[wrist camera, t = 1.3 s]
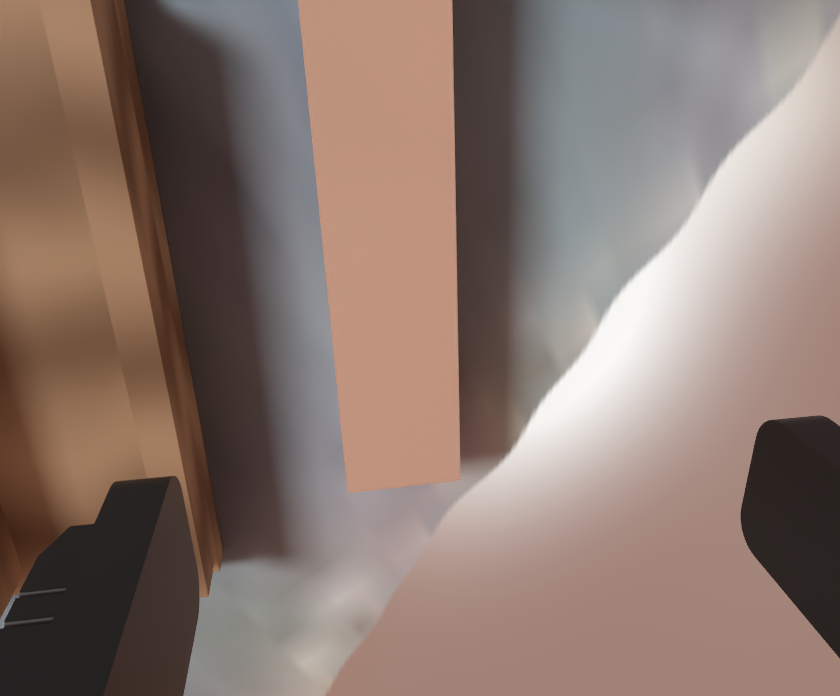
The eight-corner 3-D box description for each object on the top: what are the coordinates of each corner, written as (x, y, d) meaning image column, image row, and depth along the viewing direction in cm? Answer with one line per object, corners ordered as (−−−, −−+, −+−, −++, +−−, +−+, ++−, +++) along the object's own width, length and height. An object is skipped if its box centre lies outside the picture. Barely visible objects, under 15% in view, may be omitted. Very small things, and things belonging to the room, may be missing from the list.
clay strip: (290, -95, 21) (286, -119, 17) (426, -98, 21) (450, -122, 17) (342, 432, 28) (347, 492, 25) (441, 422, 29) (460, 479, 25)
